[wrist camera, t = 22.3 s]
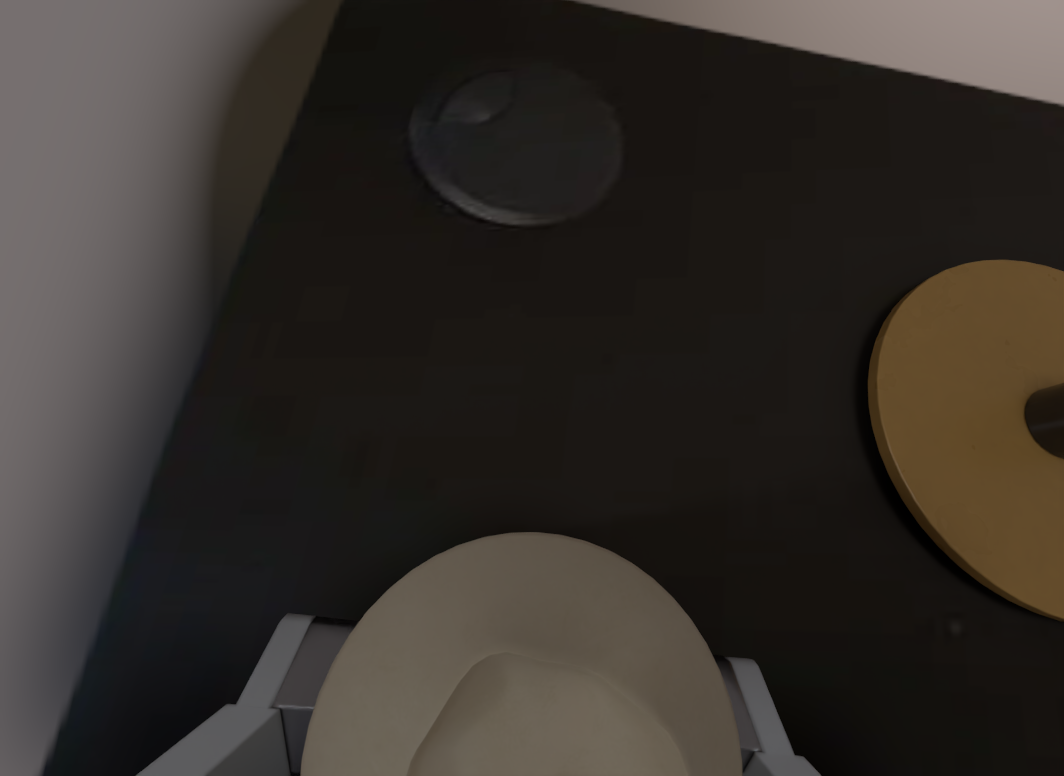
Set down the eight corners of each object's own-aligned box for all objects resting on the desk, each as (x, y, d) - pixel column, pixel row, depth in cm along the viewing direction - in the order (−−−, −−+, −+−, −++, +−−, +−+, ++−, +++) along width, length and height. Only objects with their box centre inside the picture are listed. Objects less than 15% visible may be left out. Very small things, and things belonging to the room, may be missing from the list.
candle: (393, 565, 15) (222, 595, 5) (575, 522, 16) (710, 480, 6) (425, 784, 13) (264, 1369, 4) (625, 723, 14) (907, 1084, 5)
